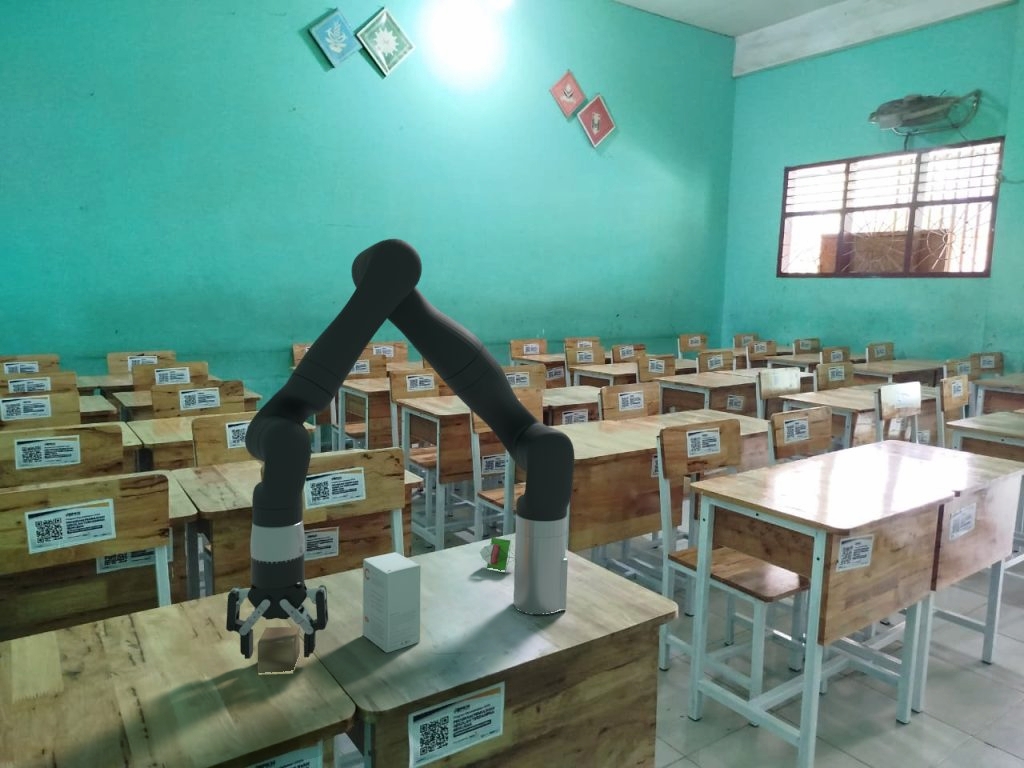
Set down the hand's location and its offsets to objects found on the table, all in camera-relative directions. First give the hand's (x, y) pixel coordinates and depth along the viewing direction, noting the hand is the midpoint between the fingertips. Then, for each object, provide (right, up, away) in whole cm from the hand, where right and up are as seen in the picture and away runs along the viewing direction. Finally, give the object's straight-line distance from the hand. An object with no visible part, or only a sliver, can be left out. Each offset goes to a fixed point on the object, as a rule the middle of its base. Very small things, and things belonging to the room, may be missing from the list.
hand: (278, 655), depth 106 cm
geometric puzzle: (+32, +2, +42) cm, 52 cm away
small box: (+15, -1, +10) cm, 18 cm away
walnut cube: (0, -2, 0) cm, 2 cm away
